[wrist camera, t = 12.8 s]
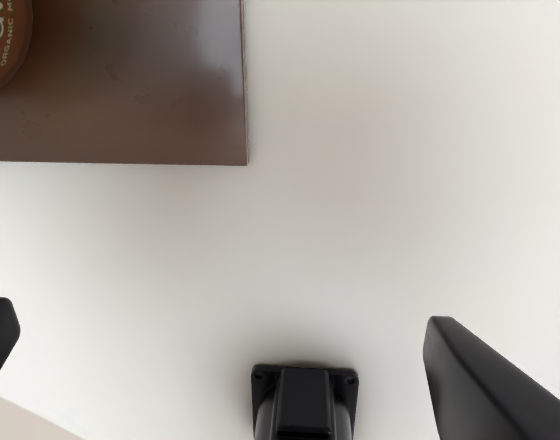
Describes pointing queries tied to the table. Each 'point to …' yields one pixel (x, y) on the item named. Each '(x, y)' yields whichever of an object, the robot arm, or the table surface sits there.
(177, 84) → the walnut board
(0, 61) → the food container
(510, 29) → the table surface
